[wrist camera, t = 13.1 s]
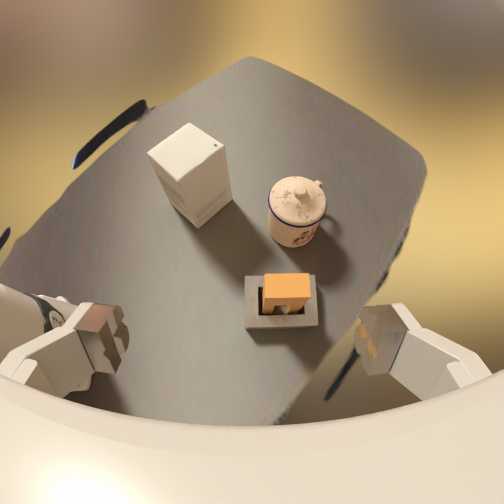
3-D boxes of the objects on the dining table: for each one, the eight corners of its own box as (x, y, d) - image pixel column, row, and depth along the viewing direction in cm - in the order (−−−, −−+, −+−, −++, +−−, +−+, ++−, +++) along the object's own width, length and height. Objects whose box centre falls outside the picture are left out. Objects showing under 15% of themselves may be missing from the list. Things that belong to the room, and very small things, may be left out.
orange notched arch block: (295, 295, 45) (309, 273, 34) (296, 313, 44) (310, 297, 33) (262, 295, 45) (264, 273, 34) (262, 314, 44) (264, 298, 33)
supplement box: (203, 174, 54) (189, 120, 40) (233, 199, 52) (227, 144, 38) (168, 202, 52) (144, 151, 38) (197, 230, 50) (177, 181, 36)
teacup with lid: (296, 259, 47) (308, 229, 36) (255, 228, 50) (256, 191, 39) (333, 214, 51) (351, 177, 40) (295, 187, 53) (304, 146, 42)
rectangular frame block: (314, 327, 43) (318, 325, 40) (245, 329, 43) (244, 327, 40) (311, 280, 46) (314, 274, 43) (245, 281, 46) (244, 275, 43)
